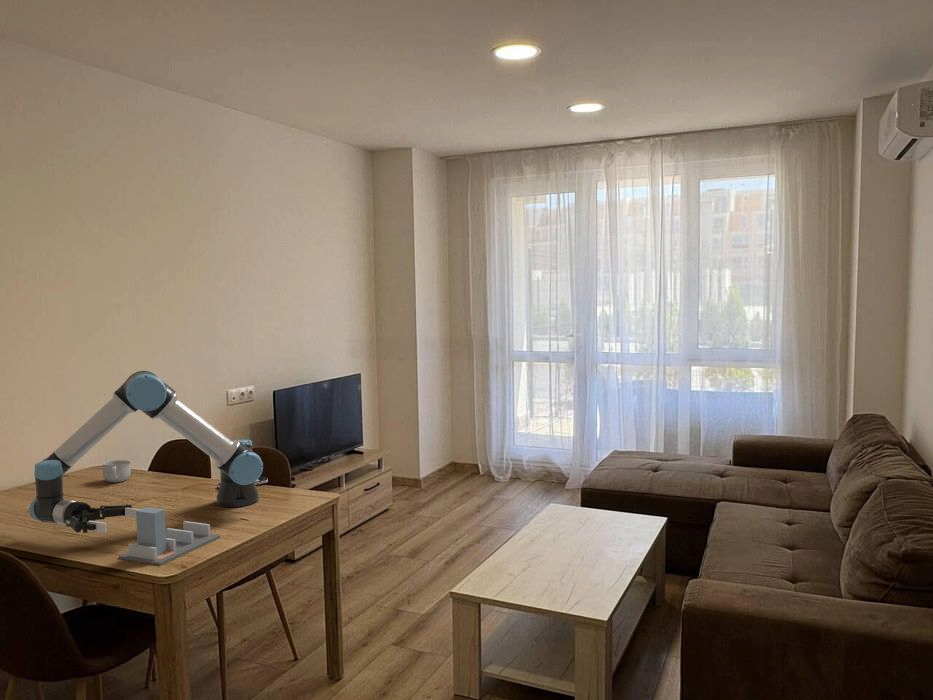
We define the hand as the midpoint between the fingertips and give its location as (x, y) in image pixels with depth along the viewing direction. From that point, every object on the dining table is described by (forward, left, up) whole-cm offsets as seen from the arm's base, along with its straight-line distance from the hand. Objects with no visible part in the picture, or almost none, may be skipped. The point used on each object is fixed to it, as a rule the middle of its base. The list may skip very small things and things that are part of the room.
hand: (124, 520), depth 221 cm
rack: (-7, +11, -9) cm, 16 cm away
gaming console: (-74, -16, -10) cm, 76 cm away
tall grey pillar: (0, +10, -9) cm, 14 cm away
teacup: (-60, -69, -10) cm, 93 cm away
